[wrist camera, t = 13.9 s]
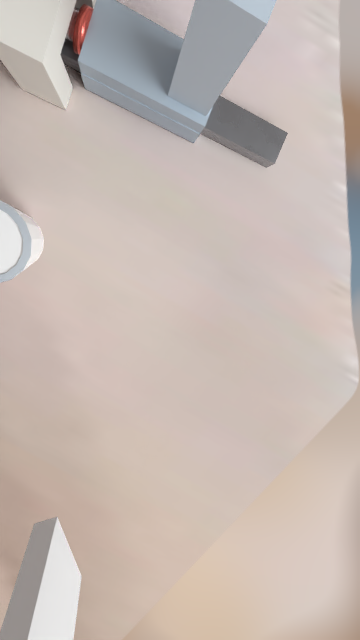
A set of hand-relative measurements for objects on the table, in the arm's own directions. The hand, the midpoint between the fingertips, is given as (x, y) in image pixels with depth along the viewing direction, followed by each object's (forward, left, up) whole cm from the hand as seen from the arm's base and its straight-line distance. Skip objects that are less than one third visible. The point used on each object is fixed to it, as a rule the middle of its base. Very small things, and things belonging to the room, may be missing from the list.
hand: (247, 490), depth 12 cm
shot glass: (-17, +2, -27) cm, 32 cm away
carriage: (-10, +20, -26) cm, 34 cm away
